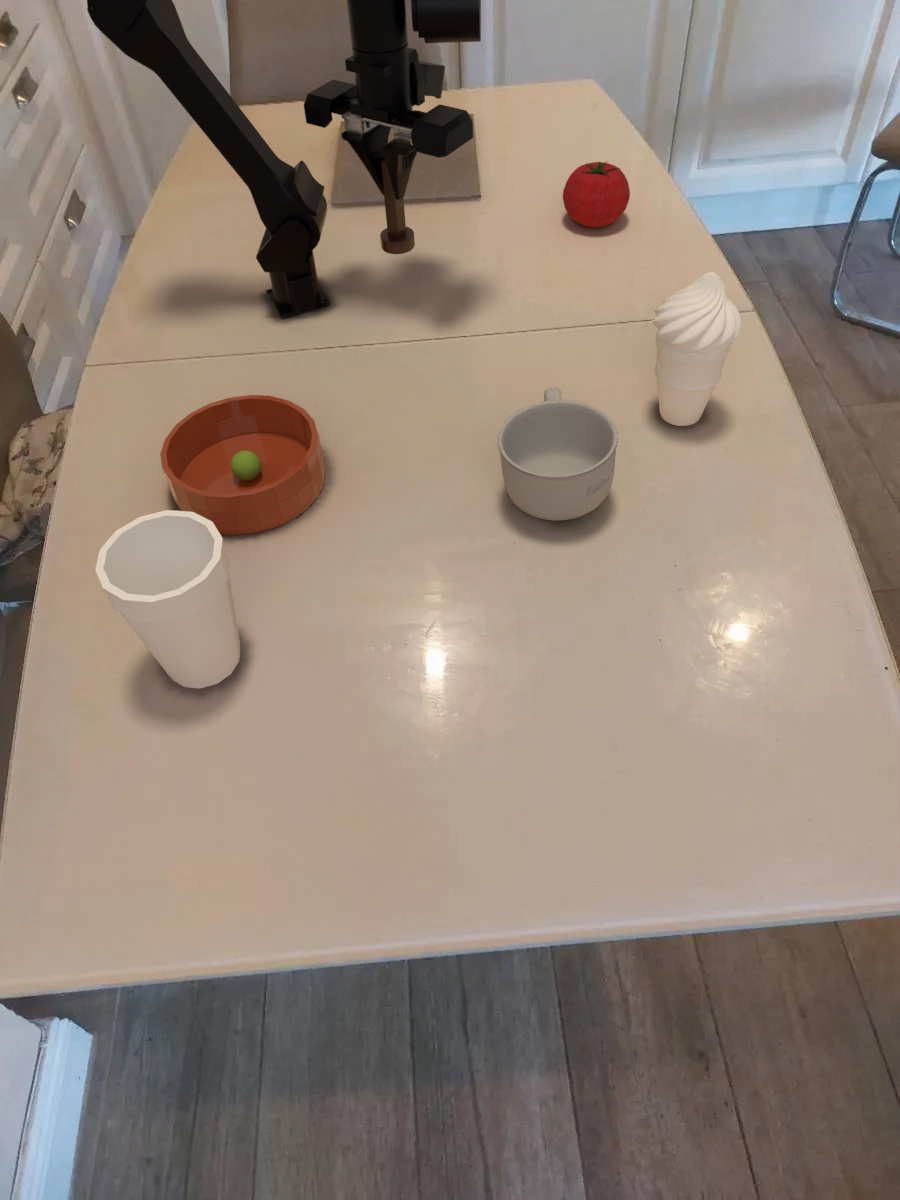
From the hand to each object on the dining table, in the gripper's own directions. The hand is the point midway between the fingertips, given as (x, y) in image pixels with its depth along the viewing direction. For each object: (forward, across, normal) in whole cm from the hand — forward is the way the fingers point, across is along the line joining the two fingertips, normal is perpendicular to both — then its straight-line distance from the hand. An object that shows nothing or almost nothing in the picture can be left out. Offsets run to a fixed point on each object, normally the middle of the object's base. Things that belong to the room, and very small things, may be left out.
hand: (393, 196), depth 103 cm
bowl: (+13, -6, +35) cm, 38 cm away
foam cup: (+13, -18, +54) cm, 59 cm away
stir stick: (+6, 0, 0) cm, 6 cm away
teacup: (+13, -33, +20) cm, 41 cm away
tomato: (+13, -12, -28) cm, 33 cm away
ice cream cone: (+13, -39, +4) cm, 41 cm away
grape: (+11, -6, +35) cm, 38 cm away
